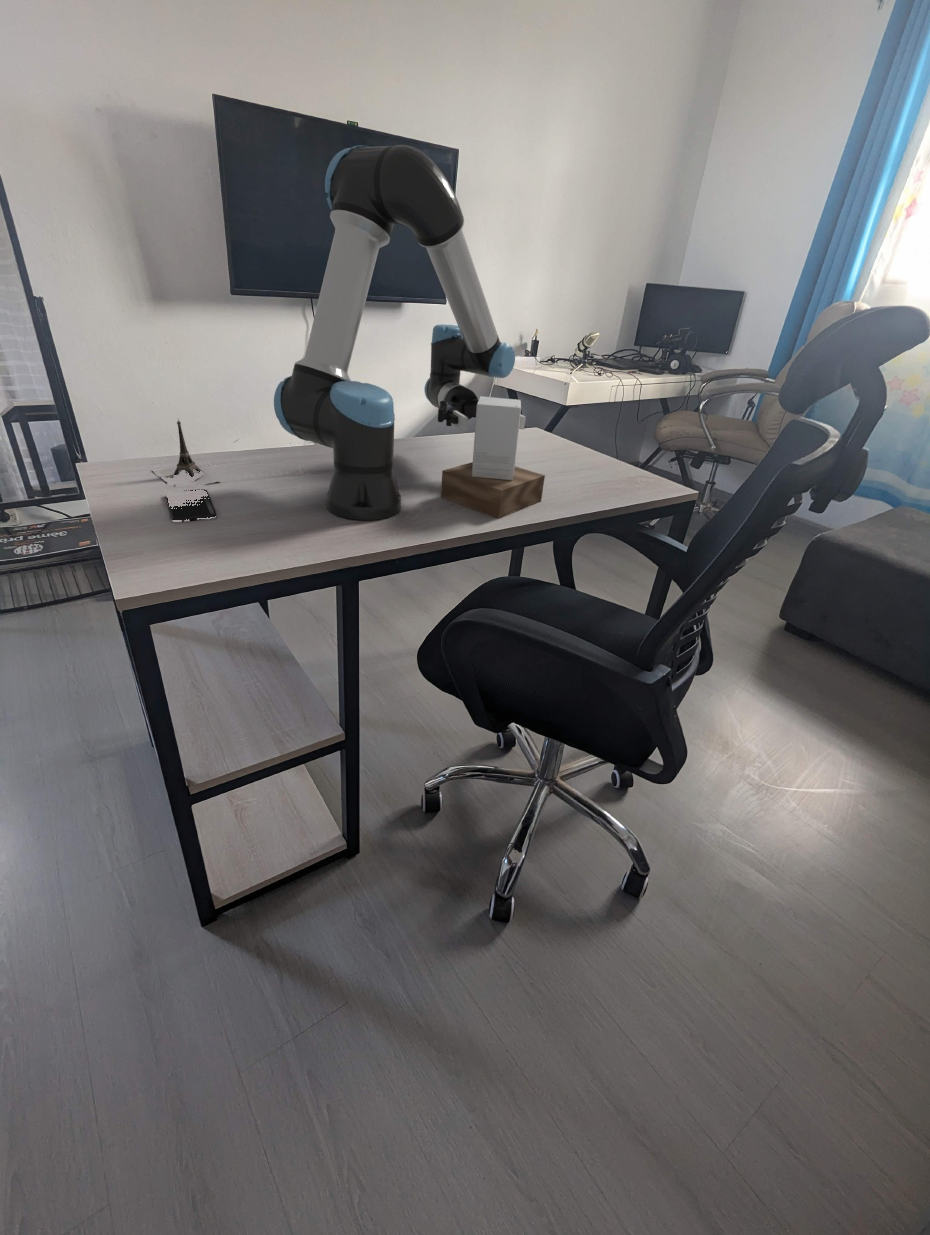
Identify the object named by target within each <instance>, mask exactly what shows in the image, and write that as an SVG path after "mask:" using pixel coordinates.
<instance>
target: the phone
mask: <svg viewBox="0 0 930 1235" xmlns="http://www.w3.org/2000/svg"><path fill="white" fill-rule="evenodd" d="M200 489H201V488H199V489H188V491H189V490H190V491H193V490H195V491H196V490H200ZM201 490H204V491H206V492H207V494H208V496H207V497H206V496H205V497H204V496H203V497H201V498H203V499H200V500H198V501H200V502H197V503H196V505H194V506H192V504H195V502H194V503H192V502H191V505H190V506H189V504H190V502H189V503H187V502H186V504H188V506H187V505H186V506H182V507H181V506H180V507H178V506H174V507H173V509H171V508H172V507H171V506H170V507H169V503H168V498H167V497H166V496H165V499H166V498H167V502H166V504H167V503H168V504H167V507H169V508H168V511H169V515H170V520H171V519H172V520H186V519H187V520H188V519H191V520H196V519H195V518H207V517H208V518H210V517H215V516H216V515H217V511H216V509H215V507H214V504H213V501H212V499H211V497H210V494H209V490H207V489H203V488H202V489H201ZM185 491H187V489H186V490H185ZM204 498H206V499H204ZM208 498H209V499H208ZM186 501H187V500H186ZM188 501H189V500H188ZM190 501H191V500H190ZM194 501H197V499H196V500H194ZM201 501H203V502H202V503H201ZM183 504H185V503H183ZM197 504H198V506H197ZM199 504H200V505H199ZM174 508H175V509H174ZM176 508H177V509H176ZM181 508H182V509H181Z"/></svg>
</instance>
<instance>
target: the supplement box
mask: <svg viewBox="0 0 930 1235" xmlns="http://www.w3.org/2000/svg"><path fill="white" fill-rule="evenodd" d="M478 400H479V401H478V403H477V409H476V417H475V424H474V426H475V427H474V437H473V438H474V440H473V441H474V442H473V451H472V452H473V454H472V462H473V465H472V477H481V478H491V479H502V480H513V475H514V467H515V464H516V457H517V450H518V443H519V442H518V440H519V439H518V438H519V432H520V429H519V424H520V415H522V410H521V409H522V406H521V405H522V404H521V399H516V398H514V399H513V398H504V397H503V398H501V397H493V396H492V397H491V396H484V395H483V396H482V395H481V396H479V398H478Z"/></svg>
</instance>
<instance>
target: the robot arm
mask: <svg viewBox="0 0 930 1235" xmlns="http://www.w3.org/2000/svg"><path fill="white" fill-rule="evenodd" d="M324 190H325V193H327V194H326V195H327V198H326V201H327V204H328V207H329V209H330V214H329V215H330V216H329V218H330V220H331V223H332V224H333V227H334V234H333V239H332V242H331V247H330V251H329V256H328V258H327V259H328V260H327V264H326V267H325V272H324V275H323V279H322V280H323V281H322V284H321V289H320V292H319V296H318V301H317V305H316V308H315V313H314V316H313V317H314V318H313V321H312V325H311V329H310V333H309V338H308V342H307V346H306V351H305V355H304V357H303V358H301V359H299V360H297V361H295V363H294V365H293V369H292V374H291V375H290V376H287V377H285V378H284V379H283V380H282V381H280V382H279V383H278V384H277V387H276V388H275V392H274V395H273V408H274V414H275V416H276V418H277V420H278V422H279V424H280V425H281V427H282V428H283V429H284V431H286V432H287V433H289V434H291V435H292V436H295V437H296V438H298V439H300V440H304V441H306V442H312V443H315V444H317V445H320V446H324V447H327V448H330V449H333V454H332V455H333V472H332V475H331V476H332V477H331V481H330V485H329V489H328V491H327V493H326V496H325V497H326V498H325V500H326V509H327V510H328V512H330V513H332V514H333V515H336V516H337V517H341V518H345V519H350V520H359V521H373V520H375V521H376V520H382V519H386V518H390V517H393V516H396V515H397V514H399V513H400V511H401V509H402V495H401V493H400V492H399V487H398V483H397V480H396V477H395V473H394V452H395V451H394V448H395V447H394V444H395V420H396V417H395V416H396V415H395V410H394V409H395V408H394V399H393V397H392V395H391V394H390V392H389V391H387V390H386V389H385V388H382V387H380V386H378V385H376V384H371V383H369V382H365V383H364V382H360V381H358V380H357V381H356V380H355V381H354V380H351V378H350V376H349V373H348V371H349V368H350V363H351V360H352V356H353V351H354V348H355V344H356V340H357V337H358V332H359V328H360V324H361V321H362V316H363V313H364V309H365V305H366V301H367V297H368V293H369V289H370V286H371V282H372V277H373V274H374V269H375V267H376V266H375V265H376V262H377V258H378V255H379V250H380V248H383V247H385V246H387V245H388V244H390V240H391V237H392V233H393V229H394V226H395V225H401V226H402V225H404V226H406V227H408V228H409V229H410V230H411V231H412V233H413V234H414V236H415V239H416V241H417V242H418V244H419V246H421V247H422V248H425V249H426V250H427V251H426V252H427V254H428V256H429V258H430V261H431V263H432V266H433V268H434V271H435V272H436V276H437V277H438V280H439V283H440V285H441V288H442V290H443V292H444V295H445V298H446V299H447V302H448V305H449V307H450V310H451V313H452V315H453V317H454V319H455V322H456V324H457V325H453V324H444V323H443V324H436V325H434V326H433V327H432V334H431V335H432V336H431V342H430V346H431V347H430V374H429V378H428V379H427V380H426V382H425V384H424V395H425V398H426V399H427V401H429V403H430V404H431V405H432V406H434V407H435V408H437V409H438V410H437V411H438V412H437V422H438V423H443V422H444V421H446V422H445V426H447V427H452V426H453V425H454V426H455V427H457V428H459V429H460V430H461V431H463V432H467V431H468V425H469V420H471V419H472V418H475V419H476V409H477V403H478V401H479V398H478V396H477V394H476V393H475V392H474V391H473V390H471V389H470V388H468V387H465V386H464V385H463V384H460V382H461V381H460V380H461V378H460V377H461V372H466V373H471V374H475V375H479V376H484V377H489V378H495V379H496V378H497V379H504V378H505V379H506V378H507V377H509V375H510V374H511V372H512V371H513V369H514V367H515V362H516V353H515V349H514V348H513V346H511V344H509V343H506V342H501V340H500V338H499V334H498V331H497V329H496V325H495V323H494V320H493V317H492V314H491V311H490V309H489V306H488V302H487V300H486V296H485V294H484V290H483V288H482V285H481V282H480V280H479V276H478V273H477V270H476V267H475V264H474V262H473V258H472V255H471V252H470V249H469V247H468V244H467V241H466V237H465V235H464V232H463V228H464V224H465V217H464V215H463V211H462V209H461V206H460V202H459V200H458V198H457V195H456V194H455V192H454V190H453V188H452V186H451V184H450V183H449V181H448V179H447V178H446V176H445V175H444V174H443V171H442V170H441V169H440V168H439V167H438V164H436V163H435V162H434V161H433V160H432V159H431V158H430V157H429V156H428V155H426V154H425V153H424V152H423V151H421V150H420V149H418V148H416V147H414V146H411V145H406V144H397V145H384V146H381V145H380V146H368V145H355V146H352V147H348V148H344V149H342V150H340V151H339V152H337V153H336V154H335V155H334V156H333V158H332V159H331V160H330V162H329V165H328V167H327V170H326V174H325V179H324ZM521 411H522V408H521ZM526 419H527V418H526V416H525V415H523V414H521V415H520V424H519V430H521V431H522V430H525V427H526V426H525V425H526Z"/></svg>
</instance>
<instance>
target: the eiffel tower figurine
mask: <svg viewBox="0 0 930 1235" xmlns="http://www.w3.org/2000/svg"><path fill="white" fill-rule="evenodd" d="M176 425H177V427H178V438H179V458H178V459H179V460H178V463H177V464H176V469H175V471H174V473H173V474H174V475H177V474H179V473H180V472H181V470H185V471H186V472H188V473H189V475H190V476H191V477H193V476H194V473H195V472H194V470H195V471H196V472H197V471H199V472H200V471H202V470H201V469H200V467H198V466H197V465H196V462H195V461H194V460H193V459H192V457H191V455H190V452H189V451H188V448H187V446H186V445H187V444H186V441H185V437H184V434H183V429H182V423H181V421H180V420H179V419H177V422H176Z"/></svg>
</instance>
